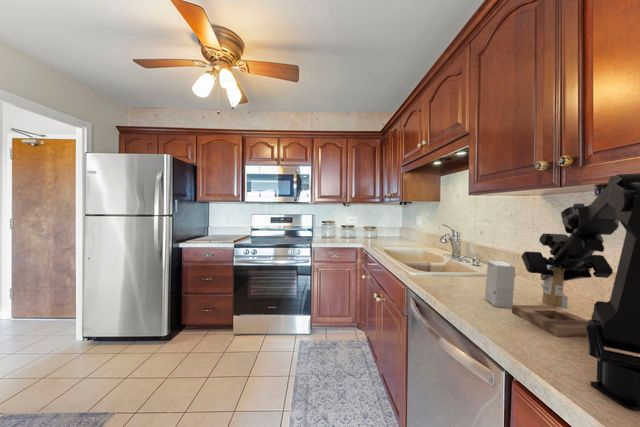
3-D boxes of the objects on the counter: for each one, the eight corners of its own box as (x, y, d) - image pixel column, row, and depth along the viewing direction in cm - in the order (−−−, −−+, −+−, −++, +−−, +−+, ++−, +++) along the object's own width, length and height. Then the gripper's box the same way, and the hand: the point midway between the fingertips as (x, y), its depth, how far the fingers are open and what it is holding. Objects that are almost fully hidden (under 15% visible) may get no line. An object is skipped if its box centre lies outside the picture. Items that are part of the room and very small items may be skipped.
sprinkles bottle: (564, 308, 74) (568, 262, 73) (543, 305, 76) (547, 259, 76) (559, 304, 78) (563, 260, 77) (539, 300, 80) (543, 257, 80)
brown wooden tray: (605, 336, 69) (605, 327, 69) (557, 336, 69) (557, 327, 69) (550, 312, 85) (550, 305, 85) (511, 312, 85) (511, 305, 85)
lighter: (565, 307, 90) (565, 284, 90) (567, 308, 89) (568, 285, 89) (539, 303, 93) (540, 281, 93) (541, 305, 92) (542, 282, 92)
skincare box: (484, 299, 97) (485, 259, 97) (502, 300, 96) (503, 260, 96) (494, 307, 89) (496, 264, 89) (514, 308, 88) (515, 265, 88)
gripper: (605, 226, 70) (575, 259, 81) (525, 224, 75) (507, 255, 86) (631, 260, 63) (594, 291, 73) (540, 255, 67) (518, 285, 78)
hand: (551, 279), depth 78 cm, fingers closed on sprinkles bottle, 4 cm apart
